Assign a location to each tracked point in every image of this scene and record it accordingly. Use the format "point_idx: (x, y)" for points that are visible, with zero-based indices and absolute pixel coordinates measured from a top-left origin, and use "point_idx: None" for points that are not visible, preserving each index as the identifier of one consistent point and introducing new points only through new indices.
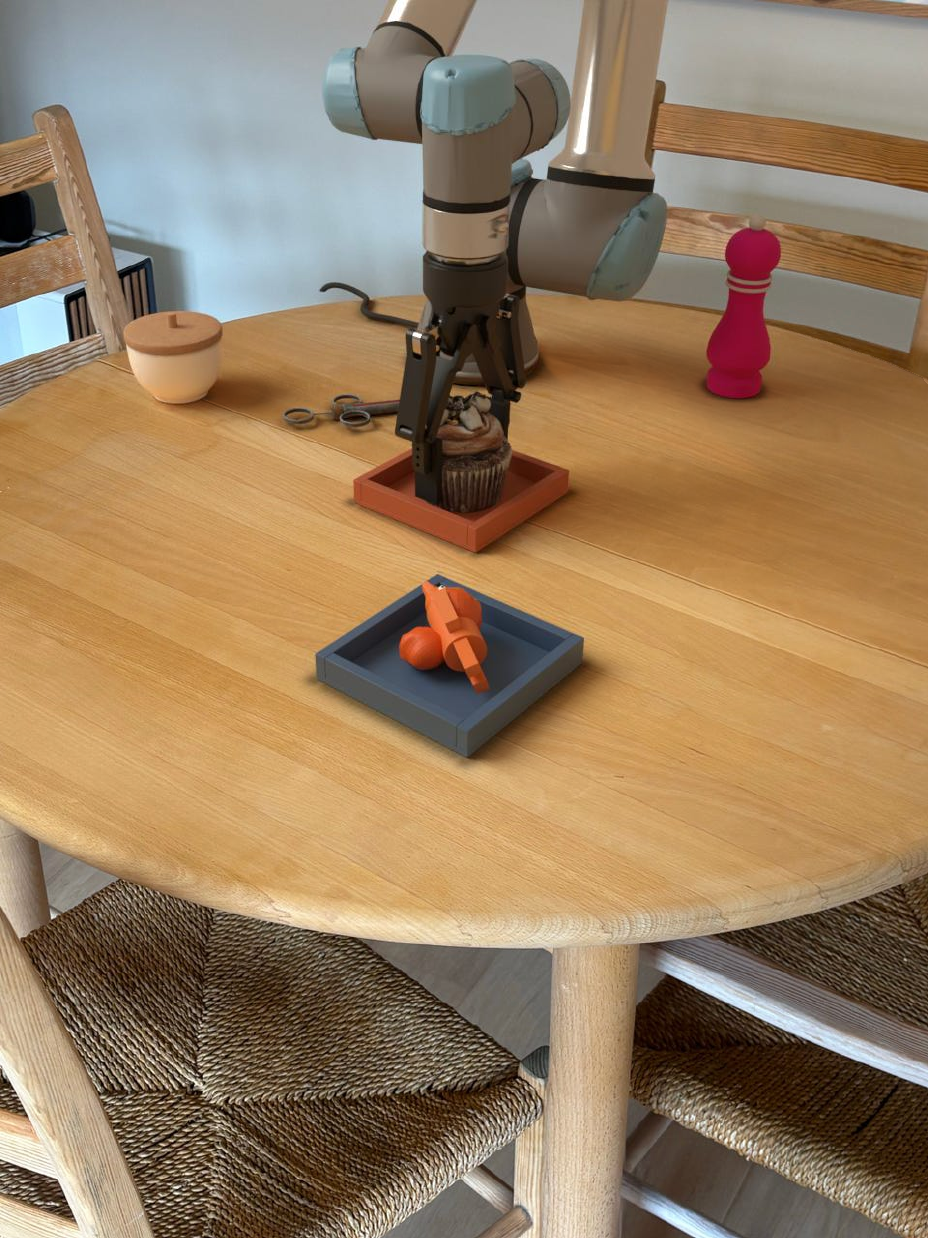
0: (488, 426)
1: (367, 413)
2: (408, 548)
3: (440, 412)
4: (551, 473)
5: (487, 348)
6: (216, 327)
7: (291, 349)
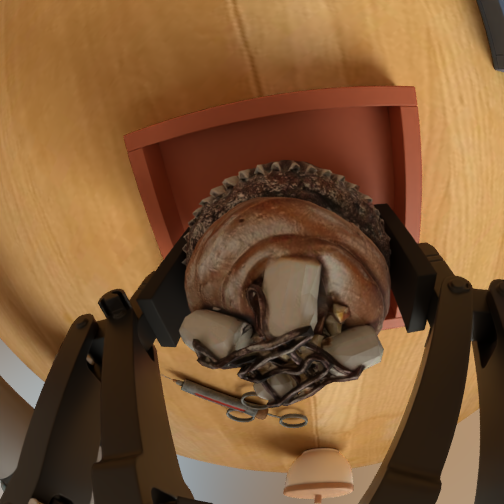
0: (256, 254)
1: (241, 400)
2: (448, 174)
3: (450, 336)
4: (148, 153)
5: (151, 486)
6: (297, 491)
7: (217, 449)
